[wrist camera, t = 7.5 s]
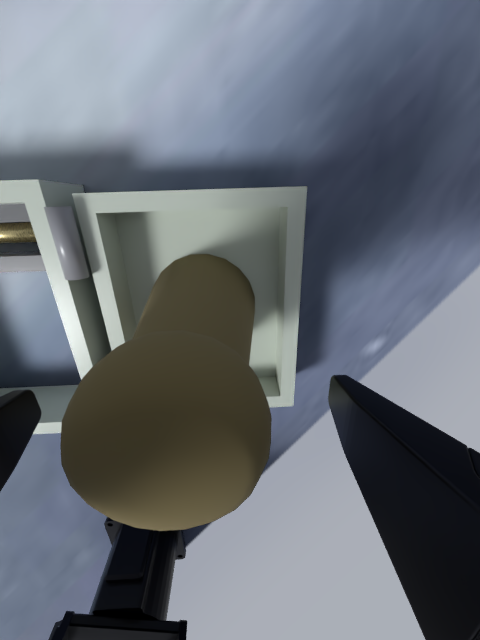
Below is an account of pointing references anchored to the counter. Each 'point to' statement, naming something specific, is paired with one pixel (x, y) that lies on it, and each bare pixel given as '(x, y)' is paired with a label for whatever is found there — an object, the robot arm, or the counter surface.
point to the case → (57, 279)
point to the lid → (203, 238)
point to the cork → (174, 406)
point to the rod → (16, 232)
